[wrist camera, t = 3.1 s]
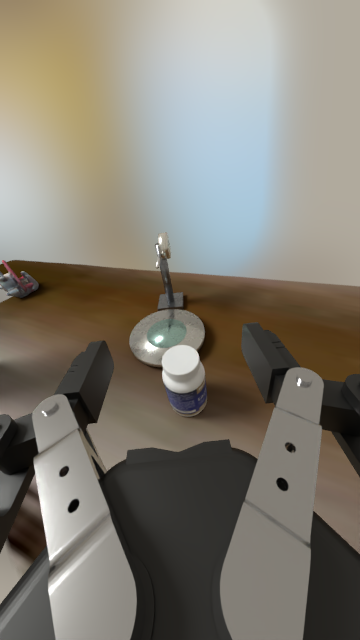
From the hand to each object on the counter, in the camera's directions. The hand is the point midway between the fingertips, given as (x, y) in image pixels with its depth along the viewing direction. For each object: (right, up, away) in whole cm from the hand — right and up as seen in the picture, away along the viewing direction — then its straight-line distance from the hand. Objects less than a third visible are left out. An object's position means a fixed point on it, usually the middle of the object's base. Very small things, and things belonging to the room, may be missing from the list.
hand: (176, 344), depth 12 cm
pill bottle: (+2, -11, +19) cm, 22 cm away
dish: (-2, -3, +29) cm, 30 cm away
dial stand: (-2, +4, +37) cm, 37 cm away
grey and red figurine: (-52, +11, +56) cm, 77 cm away
